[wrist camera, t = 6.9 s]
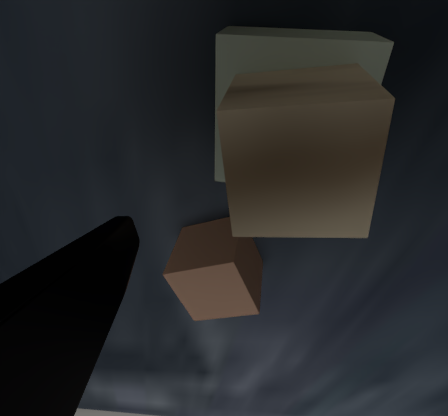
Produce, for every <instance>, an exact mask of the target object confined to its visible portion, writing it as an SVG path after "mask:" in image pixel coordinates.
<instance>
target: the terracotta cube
mask: <svg viewBox="0 0 448 416" xmlns="http://www.w3.org/2000/svg"><path fill="white" fill-rule="evenodd" d="M262 269H263V261H262V259H261V256H260V254H259V252H258V249H257V247H256V245H255V242H254V240H253V238H252V237H233V236H232V229H231V221H230V217H227V218H222V219H218V220H213V221H209V222H205V223H200V224H196V225H191V226H187V227H183V228H182V230H181V232H180V234H179V237H178V239H177V241H176V244H175V246H174V249H173V251H172V253H171V256H170V258H169V261H168V263H167V265H166V268H165V270H164V272H163V276H164V277H165V279H166V280H167V282H168V283H169V285H170V286H171V288H172V289H173V290H174V292H175V293H176V295H177V296H178V298H179V299H180V301H181V302H182V304H183V305H184V307H185V308H186V310H187V311H188V312H189V314H190V315H191V317H192V318H193V320H194V321H199V320H208V319H217V318H226V317H235V316H244V315H253V314H259V312H260V298H261V283H262Z"/></svg>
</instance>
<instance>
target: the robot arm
mask: <svg viewBox="0 0 448 416" xmlns="http://www.w3.org/2000/svg"><path fill="white" fill-rule="evenodd" d="M138 248H139V236H138V234H137V231H136V228H135V225H134V222H133V220H132V218H131V217H129V216H116V217H114V218H112V219H111V220H109V221H107V222H106V223H104V224H102V225H100V226H99V227H97V228H95V229H94V230H92V231H90V232H88V233H87V234H85V235H83V236H82V237H80V238H78V239H76V240H75V241H73V242H71V243H70V244H68V245H66V246H64V247H63V248H61V249H59V250H58V251H56V252H54V253H52V254H51V255H49V256H47V257H46V258H44V259H42V260H40V261H39V262H37V263H35V264H34V265H32V266H30V267H28V268H27V269H25V270H23V271H22V272H20V273H18V274H16V275H15V276H13V277H11V278H10V279H8V280H6V281H4V282H3V283H1V284H0V416H74V414H75V412H76V409H77V407H78V405H79V403H80V400H81V398H82V395H83V393H84V391H85V388H86V386H87V383H88V381H89V379H90V376H91V374H92V371H93V369H94V367H95V364H96V362H97V359H98V357H99V355H100V352H101V350H102V347H103V345H104V343H105V340H106V338H107V335H108V333H109V331H110V328H111V326H112V323H113V321H114V319H115V316H116V314H117V311H118V309H119V307H120V304H121V302H122V299H123V297H124V294H125V292H126V289H127V286H128V282H129V279H130V275H131V272H132V269H133V265H134V262H135V258H136V255H137V251H138Z"/></svg>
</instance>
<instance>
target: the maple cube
mask: <svg viewBox="0 0 448 416" xmlns="http://www.w3.org/2000/svg"><path fill="white" fill-rule="evenodd" d="M394 102H395V98H394V97H393V96H392V95H391V94H390V93H389V92H388V91H387V90H386V89H385V88H384V87H383V86H381V85H380V84H379V83H378V82H377V81H376V80H375V79H374V78H373V77H372V76H371V75H370V74H369V73H368V72H367V71H365V70H364V69H363V68H362V67H361V66H360V65H359V64H358V63H355V64H344V65H333V66H322V67H311V68H300V69H289V70H278V71H267V72H256V73H246V74H236V75H235V77H234V78H233V80H232V82H231V84H230V86H229V88H228V90H227V92H226V94H225V95H224V97H223V99H222V101H221V103H220V105H219V107H218V109H217V111H216V112H217V120H218V128H219V135H220V143H221V151H222V159H223V167H224V174H225V182H226V190H227V198H228V205H229V213H230V221H231V229H232V236H233V237H310V238H368V233H369V228H370V223H371V218H372V213H373V208H374V203H375V198H376V193H377V188H378V183H379V178H380V173H381V168H382V163H383V158H384V153H385V148H386V142H387V137H388V132H389V127H390V122H391V117H392V112H393V107H394Z"/></svg>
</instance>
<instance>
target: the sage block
mask: <svg viewBox="0 0 448 416" xmlns="http://www.w3.org/2000/svg"><path fill="white" fill-rule="evenodd" d="M393 45H394V42H393V41H390V40H388V39H386V38H384V37H382V36H379V35H377V34H375V33H373V32H360V31H336V30H313V29H290V28H266V27H243V26H227V27H226V28H224V29H223V30H221V31H220V32H218V33H217V34H216V68H215V181H220V182H225V174H224V167H223V159H222V151H221V143H220V135H219V128H218V120H217V112H216V111H217V109H218V107H219V105H220V103H221V101H222V99H223V97H224V95H225V94H226V92H227V90H228V88H229V86H230V84H231V82H232V80H233V78H234V77H235V75H236V74H246V73H256V72H267V71H278V70H289V69H300V68H311V67H322V66H333V65H344V64H355V63H358V64H359V65H360V66H361V67H362V68H363V69H364V70H365V71H367V72H368V73H369V74H370V75H371V76H372V77H373V78H374V79H375V80H376V81H377V82H378V83H379V84H380V85H381V84H382V80H383V77H384V74H385V71H386V67H387V64H388V61H389V58H390V54H391V51H392V48H393Z"/></svg>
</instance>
